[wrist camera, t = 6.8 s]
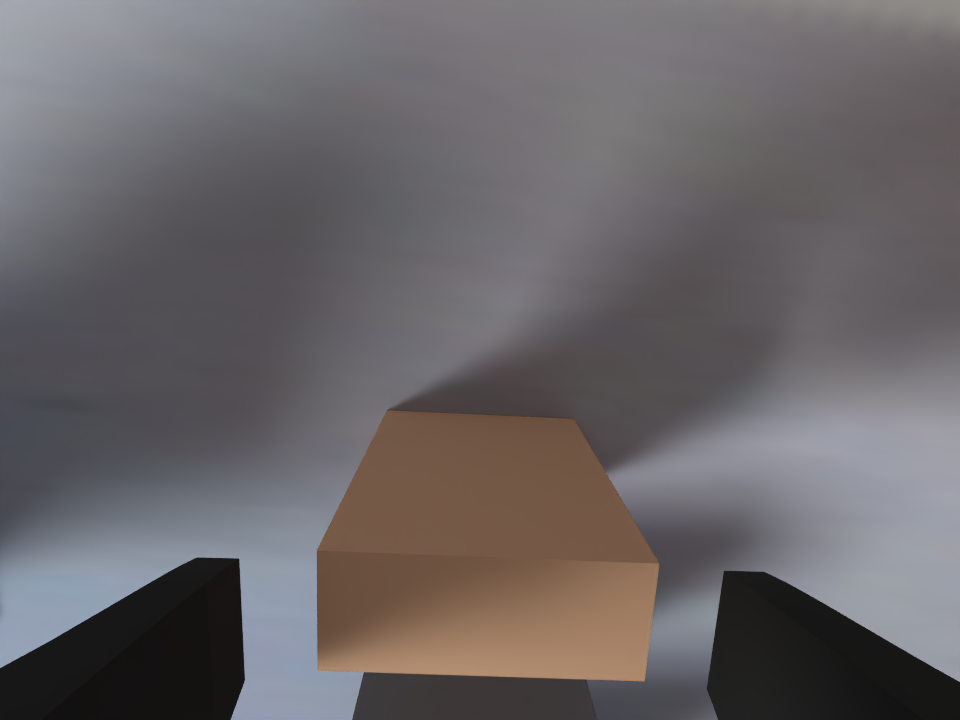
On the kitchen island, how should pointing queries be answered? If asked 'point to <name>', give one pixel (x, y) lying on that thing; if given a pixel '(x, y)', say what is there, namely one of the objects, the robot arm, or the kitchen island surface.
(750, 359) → the kitchen island surface
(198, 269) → the kitchen island surface
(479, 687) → the tile
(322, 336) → the kitchen island surface
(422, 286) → the kitchen island surface
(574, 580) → the tile head
